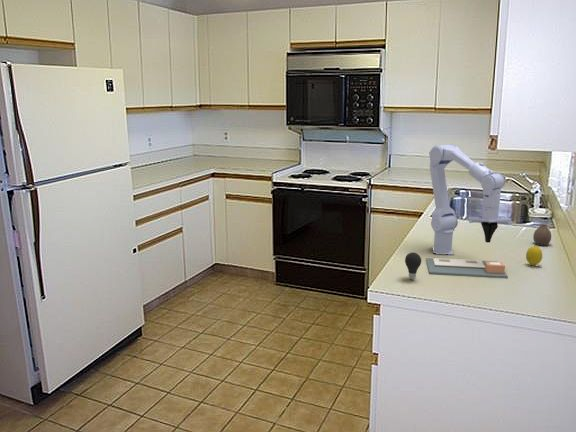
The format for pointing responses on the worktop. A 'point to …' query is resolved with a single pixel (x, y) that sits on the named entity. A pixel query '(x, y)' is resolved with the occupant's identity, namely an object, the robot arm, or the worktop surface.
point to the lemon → (534, 255)
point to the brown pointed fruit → (542, 235)
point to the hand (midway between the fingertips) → (487, 241)
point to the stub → (494, 267)
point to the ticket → (458, 263)
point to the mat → (461, 271)
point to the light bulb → (412, 264)
